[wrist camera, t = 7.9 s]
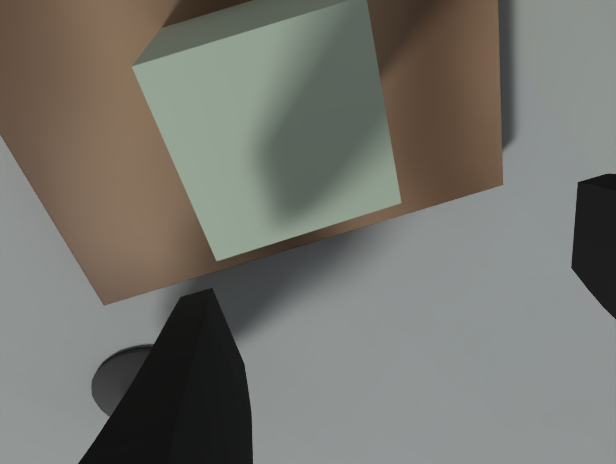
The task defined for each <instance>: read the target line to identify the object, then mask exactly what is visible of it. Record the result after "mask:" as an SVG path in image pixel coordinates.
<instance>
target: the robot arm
mask: <svg viewBox="0 0 616 464" xmlns="http://www.w3.org/2000/svg"><path fill="white" fill-rule="evenodd" d="M571 268H572V269H573V271H574V272H575V273H576V274H577V276H578V277H579V278H580V279H581V281H582V282H583V283H584V285H585V286H586V287H587V288H588V290H589V291H590V292H591V293H592V294H593V296H594V297H595V298H596V299H597V300H598V301H599V303H600V304H601V305H602V306H603V307H604V308H605V309H606V310H607V311H608V312H609V313H610V314H611V315H612V316H613V317H614V318H615V319H616V174H605V175H601V176H598V177H595V178H591V179H588V180H584V181H581V182H578V188H577V201H576V214H575V227H574V240H573V253H572V266H571ZM78 464H253V450H252V416H251V407H250V399H249V392H248V385H247V379H246V372H245V365H244V362H243V360H242V358H241V355H240V353H239V350H238V348H237V346H236V343H235V341H234V339H233V336H232V334H231V331H230V329H229V327H228V324H227V322H226V320H225V317H224V315H223V312H222V310H221V308H220V305H219V303H218V301H217V298H216V296H215V294H214V291H213V289H212V288H211V289H207V290H204V291H200V292H197V293H193V294H190V295H186V296H183V297H180V299H179V301H178V303H177V304H176V306H175V308H174V309H173V311H172V313H171V315H170V316H169V318H168V320H167V322H166V324H165V325H164V327H163V329H162V331H161V333H160V334H159V336H158V338H157V340H156V342H155V343H154V345H153V347H152V349H151V351H150V352H149V354H148V356H147V358H146V359H145V361H144V363H143V364H142V366H141V368H140V369H139V371H138V373H137V375H136V376H135V378H134V380H133V381H132V383H131V385H130V387H129V388H128V390H127V391H126V393H125V395H124V396H123V398H122V399H121V401H120V402H119V404H118V405H117V407H116V409H115V410H114V412H113V413H112V415H111V416H110V418H109V419H108V421H107V422H106V424H105V426H104V427H103V429H102V430H101V432H100V433H99V435H98V436H97V438H96V439H95V441H94V442H93V444H92V445H91V446H90V448H89V449H88V451H87V452H86V454H85V455H84V456H83V458H82V459H81V460H80V462H79V463H78Z"/></svg>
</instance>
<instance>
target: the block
mask: <svg viewBox="0 0 616 464" xmlns="http://www.w3.org/2000/svg"><path fill="white" fill-rule="evenodd" d="M132 69H133V71H134V73H135V76H136V78H137V80H138V82H139V85H140V87H141V89H142V92H143V94H144V96H145V98H146V101H147V103H148V105H149V108H150V110H151V112H152V115H153V117H154V119H155V121H156V124H157V126H158V128H159V131H160V133H161V135H162V137H163V140H164V142H165V144H166V147H167V149H168V151H169V154H170V156H171V158H172V160H173V163H174V165H175V167H176V170H177V172H178V174H179V176H180V179H181V181H182V183H183V186H184V188H185V190H186V192H187V195H188V197H189V199H190V202H191V204H192V206H193V209H194V211H195V213H196V215H197V218H198V220H199V222H200V225H201V227H202V229H203V231H204V234H205V236H206V238H207V241H208V243H209V245H210V247H211V250H212V252H213V254H214V257H215V259H216V261H219V260H223V259H226V258H229V257H232V256H235V255H238V254H242V253H245V252H248V251H251V250H254V249H257V248H261V247H264V246H267V245H270V244H273V243H277V242H280V241H283V240H286V239H289V238H292V237H296V236H299V235H302V234H305V233H308V232H311V231H315V230H318V229H321V228H324V227H327V226H331V225H334V224H337V223H340V222H343V221H346V220H350V219H353V218H356V217H359V216H362V215H365V214H369V213H372V212H375V211H378V210H381V209H385V208H388V207H391V206H394V205H397V204H400V203H401V197H400V192H399V186H398V180H397V174H396V168H395V162H394V156H393V151H392V145H391V139H390V133H389V127H388V121H387V116H386V110H385V104H384V98H383V92H382V86H381V80H380V75H379V69H378V63H377V57H376V51H375V45H374V39H373V34H372V28H371V22H370V16H369V10H368V4H367V0H252V1H249V2H245V3H242V4H239V5H236V6H232V7H229V8H226V9H222V10H219V11H216V12H212V13H209V14H206V15H202V16H199V17H196V18H193V19H189V20H186V21H183V22H179V23H176V24H173V25H169V26H166V27H163V28H161V29H160V30H159V32H158V33H157V34H156V35H155V37H154V38H153V39H152V41H151V42H150V43H149V45H148V46H147V47H146V48H145V50H144V51H143V52H142V54H141V55H140V56H139V58H138V59H137V60H136V61H135V63H134V64H133V65H132Z"/></svg>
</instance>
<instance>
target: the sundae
mask: <svg viewBox="0 0 616 464" xmlns="http://www.w3.org/2000/svg"><path fill="white" fill-rule="evenodd" d="M151 349H152V348H147V349H136V350H131V351H127V352H124V353H121V354H118V355H116V356H114V357H113V358H111V359H109V360H108V361H107V362H105V363H104V364H103V365H101V366H100V368H99V369H98V371H97V372H96V374H95V376H94V378H93V380H92V396H93V398H94V400H95V402H96V403H97V405H98V406H99V407H100V409H101V410H102V411H103V412H104V413H106V414H107V415H108V416H111V415H112V413H113V412H114V410H115V409H116V407H117V405H118V404H119V402H120V401H121V399H122V398H123V396H124V395H125V393H126V391H127V390H128V388H129V387H130V385H131V383H132V381H133V380H134V378H135V376H136V375H137V373H138V371H139V369H140V368H141V366H142V364H143V363H144V361H145V359H146V358H147V356H148V354H149V352H150V351H151Z"/></svg>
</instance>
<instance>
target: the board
mask: <svg viewBox="0 0 616 464" xmlns="http://www.w3.org/2000/svg"><path fill="white" fill-rule="evenodd" d="M249 1H252V0H0V135H1V137H2V138H3V140H4V142H5V143H6V145H7V147H8V148H9V150H10V152H11V153H12V155H13V156H14V158H15V160H16V161H17V163H18V165H19V166H20V168H21V170H22V171H23V173H24V175H25V176H26V178H27V180H28V181H29V183H30V185H31V186H32V188H33V189H34V191H35V193H36V194H37V196H38V198H39V199H40V201H41V203H42V204H43V206H44V208H45V209H46V211H47V213H48V214H49V216H50V218H51V219H52V221H53V222H54V224H55V226H56V227H57V229H58V231H59V232H60V234H61V236H62V237H63V239H64V241H65V242H66V244H67V246H68V247H69V249H70V251H71V252H72V254H73V255H74V257H75V259H76V260H77V262H78V264H79V265H80V267H81V269H82V270H83V272H84V274H85V275H86V277H87V279H88V280H89V282H90V284H91V285H92V287H93V288H94V290H95V292H96V293H97V295H98V297H99V298H100V300H101V302H102V303H103V305H107V304H111V303H114V302H117V301H121V300H124V299H127V298H130V297H134V296H137V295H140V294H144V293H147V292H150V291H154V290H157V289H160V288H163V287H167V286H170V285H173V284H177V283H180V282H183V281H187V280H190V279H193V278H197V277H200V276H203V275H206V274H210V273H213V272H216V271H220V270H223V269H226V268H230V267H233V266H236V265H239V264H243V263H246V262H249V261H253V260H256V259H259V258H263V257H266V256H269V255H273V254H276V253H279V252H282V251H286V250H289V249H292V248H296V247H299V246H302V245H306V244H309V243H312V242H315V241H319V240H322V239H325V238H329V237H332V236H335V235H339V234H342V233H345V232H349V231H352V230H355V229H358V228H362V227H365V226H368V225H372V224H375V223H378V222H382V221H385V220H388V219H391V218H395V217H398V216H401V215H405V214H408V213H411V212H415V211H418V210H421V209H425V208H428V207H431V206H434V205H438V204H441V203H444V202H448V201H451V200H454V199H458V198H461V197H464V196H468V195H471V194H474V193H477V192H481V191H484V190H487V189H491V188H494V187H497V186H501V185H503V166H502V129H501V92H500V54H499V17H498V0H367V4H368V10H369V16H370V22H371V28H372V34H373V39H374V45H375V51H376V57H377V63H378V69H379V75H380V80H381V86H382V92H383V98H384V104H385V110H386V116H387V121H388V127H389V133H390V139H391V145H392V151H393V156H394V162H395V168H396V174H397V180H398V186H399V192H400V197H401V203H400V204H397V205H394V206H391V207H388V208H385V209H381V210H378V211H375V212H372V213H369V214H365V215H362V216H359V217H356V218H353V219H350V220H346V221H343V222H340V223H337V224H334V225H331V226H327V227H324V228H321V229H318V230H315V231H311V232H308V233H305V234H302V235H299V236H296V237H292V238H289V239H286V240H283V241H280V242H277V243H273V244H270V245H267V246H264V247H261V248H257V249H254V250H251V251H248V252H245V253H242V254H238V255H235V256H232V257H229V258H226V259H223V260H219V261H216V259H215V257H214V254H213V252H212V250H211V247H210V245H209V243H208V241H207V238H206V236H205V234H204V231H203V229H202V227H201V225H200V222H199V220H198V218H197V215H196V213H195V211H194V209H193V206H192V204H191V202H190V199H189V197H188V195H187V192H186V190H185V188H184V186H183V183H182V181H181V179H180V176H179V174H178V172H177V170H176V167H175V165H174V163H173V160H172V158H171V156H170V154H169V151H168V149H167V147H166V144H165V142H164V140H163V137H162V135H161V133H160V131H159V128H158V126H157V124H156V121H155V119H154V117H153V115H152V112H151V110H150V108H149V105H148V103H147V101H146V98H145V96H144V94H143V92H142V89H141V87H140V85H139V82H138V80H137V78H136V76H135V73H134V71H133V69H132V65H133V64H134V63H135V61H136V60H137V59H138V58H139V56H140V55H141V54H142V52H143V51H144V50H145V48H146V47H147V46H148V45H149V43H150V42H151V41H152V39H153V38H154V37H155V35H156V34H157V33H158V32H159V30H160V29H161V28H163V27H166V26H169V25H173V24H176V23H179V22H183V21H186V20H189V19H193V18H196V17H199V16H202V15H206V14H209V13H212V12H216V11H219V10H222V9H226V8H229V7H232V6H236V5H239V4H242V3H245V2H249Z"/></svg>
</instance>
